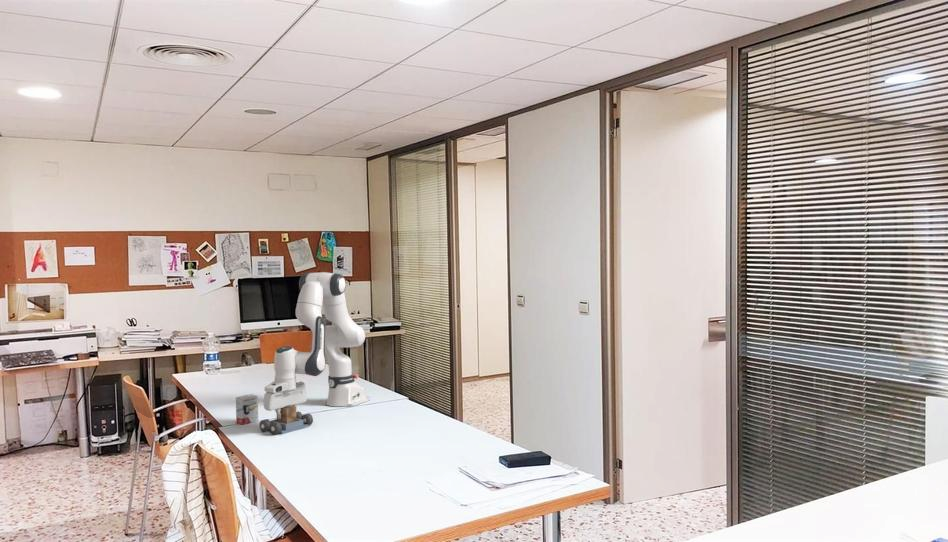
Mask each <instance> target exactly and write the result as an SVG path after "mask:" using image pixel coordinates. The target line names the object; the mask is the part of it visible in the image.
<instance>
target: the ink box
mask: <svg viewBox="0 0 948 542" xmlns="http://www.w3.org/2000/svg"><path fill="white" fill-rule="evenodd" d="M235 414H236V415H235V417H236V422H235V424H238V425H242V426H243V425H244V426H245V425H248V424H252V423H256V422H259V395H256V394H253V393H251V394H250V393H249V394H246V395H245V394H244V395H240V396H236V397H235Z"/></svg>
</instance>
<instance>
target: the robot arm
mask: <svg viewBox="0 0 948 542" xmlns="http://www.w3.org/2000/svg"><path fill="white" fill-rule="evenodd" d="M346 283H347V281H346V279H345V277H344V276H343V274H340V273H338V272H337V273H336V272H335V273H333V272H327V271H326V272H325V271H322V272H320V271H319V272H305V273H303V274H302V275H301V276H300V277H299V282H298V285H299V289H300V292H299V294H298V298H297V303H296V307H295V317H296V318H297V320H298V322H299V323H300V324H302V325H304V326H306V327H307V328H309V329H310V330H311V332H312V342H311V351H310V352H307V351H305V352H303V351H299V350H296V349H294V347H293V346H290V345H286V346H280V347H278V348H277V349H276V350H275V352H274V357H273V358H274V359H273V369H274V372H275V373H274V374H275V375H274V381H272V382H271V383H269V384H268V385H266V386H264V392H265V393H264V395H263V409H265V411H268V412H270V411H274V412H275V413H276V415H277V414H278V419H281V418H283V414H281V413H280V411H281V408H284V407H286V406H288V405H293V406H296V410H297V408H298V405H300V404H305V403H306V402H307V400H308V395H307V388H306V387H307V386H306V383H305V382H304V381H299V382H298V381H297V376H296V374H297V375H308V376H311V377H318V376H319V375H321V374H322V373H323V371H325V368H326V363H328V378H327V379H328V380H327V381H328V394H327V395H328V396H327V400H326V405H327V406H330V407H348V406H349V407H351V406H353V407H354V406H358V405H360V404H362V403H363V404H364V403H366V402H368V401H370V400H371V397H370V396H367V395H366V391H365V387H363V386H362V385H360V384H359V382H356V381H355V379H356V380H357V379H359V375H358V374H352V373H353V369H352V359H351V358H350V357H349V355H347V354H345V353H343V352H342V350H341V348H355V347H360V346H362V345H363V343H365V340H366V331H365V330H364V328H363V327H362V326H360V325H359V324H357V323H356V322H355V321H354V320H353V319H352V318H351V316H350V314H349V310H348V306H347V300H346V294H345V290H346V287H347V284H346ZM322 308H323V314H324V317H325V318H326V320H327V321H329V322H331V323H332V324H334V325H331V324H328V325H326V321H325V319H324V318H323V316H322ZM326 359H327V362H326Z"/></svg>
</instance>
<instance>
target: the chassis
mask: <svg viewBox="0 0 948 542" xmlns="http://www.w3.org/2000/svg"><path fill="white" fill-rule="evenodd" d="M296 417H297V421H295V422H291V423H288V424H285V423H280V422H277V418H276V419H271V420H270V419H262V420H260V422H259V431H261V432H262V433H267V432H270V433H271V435H272V436H274V435H275V436H276V435H278V434H280V435H285V434H288V433H291V432H295V431H299V430H303V429H305V428H309V426H310V425H311V426H312V424H313V422H314V418H313V415H312V414H311V413H310V412H309V413H305V414H302V412H301V411H299V410H298V411H296Z"/></svg>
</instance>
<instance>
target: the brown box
mask: <svg viewBox="0 0 948 542" xmlns="http://www.w3.org/2000/svg"><path fill="white" fill-rule="evenodd" d="M296 412H297V409H296V406H293V405H288V406H286V407H284V408H281V411H280V413H281V414H283V418H281V419H278V414H277V413H276V419H277V422H280V423H285V424H288V423H291V422H295V421H297V417H296Z"/></svg>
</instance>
